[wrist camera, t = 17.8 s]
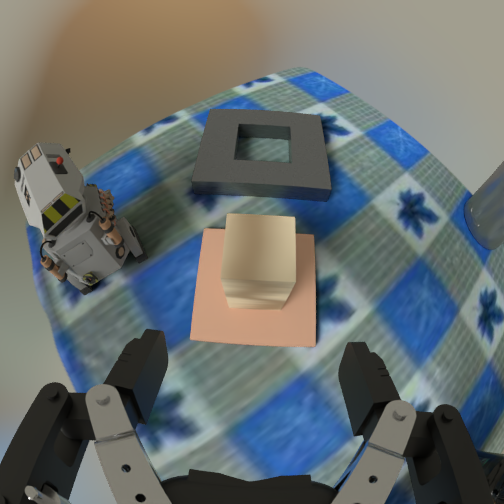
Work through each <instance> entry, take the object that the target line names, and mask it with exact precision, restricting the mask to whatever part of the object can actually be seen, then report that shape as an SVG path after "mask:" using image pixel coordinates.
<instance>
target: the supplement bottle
mask: <svg viewBox="0 0 504 504" xmlns="http://www.w3.org/2000/svg"><path fill="white" fill-rule="evenodd" d="M476 452H477V455H478V457H479V460H480V462H481V465H482V468H483V471H484V473H485V476H486V479H487V482H488V485H489V488H490V491H491V495H492V498H493V501H494V504H504V454H499V453H491V452H485V451H478V450H476Z"/></svg>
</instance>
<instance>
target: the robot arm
mask: <svg viewBox="0 0 504 504" xmlns="http://www.w3.org/2000/svg"><path fill="white" fill-rule="evenodd" d="M464 215H465V219H466V222H467V225H468V227H469V229H470V231H471V233H472V235H473V236H474V238H475V239H476V240H477V241H478V242H479V243H480V244H481V245H482V246H483V247H485V248H486V249H489V250H493V249H496V248H497V247H498V246H500V245H501V244H503V243H504V161H503V162H502V164H501V165H500V166H499V167H498V168H497V169H496V171H495V172H494V173H493V174H492V175H491V176H490V178H489V179H488V180H487V181H486V182H485V183H484V184H483V185H482V186H481V187H480V188H479V189H478V190H477V191H476V193H475V194H474V195H473V196H472V197H471V198H470V199H469V200H468V201H467V202H466V203H465V206H464ZM167 367H168V353H167V347H166V341H165V335H164V332H163V331H158V330H152V329H146V330H145V331H144V333H143V335H142V337H141V338H140V339H137V338H134V339H133V340H132V341H130V342H129V343H128V344H126V346H125V348H124V349H123V351H122V354H120V356H119V358H118V361H116V363H115V365H114V366H113V368H112V370H111V371H110V373H109V375H108V377H107V378H106V380H105V382H104V383H103V384H100V385H96V386H94V387H92V388H91V389H90V390H89V391H88V392H87V393H69V392H68V391H67V389H66V387H65V386H64V385H62V384H61V383H56V382H54V383H50V384H47V385H45V386H44V387H43V388H42V389H41V390H40V392H39V394H38V395H37V397H36V398H35V400H34V402H33V403H32V405H31V407H30V409H29V410H28V412H27V414H26V415H25V417H24V419H23V421H22V422H21V424H20V426H19V428H18V430H17V432H16V433H15V435H14V437H13V439H12V441H11V443H10V445H9V447H8V449H7V451H6V453H5V455H4V457H3V459H2V461H1V464H0V504H71V503H70V502H69V501H68V500H69V497H70V494H71V491H72V488H73V484H74V482H75V479H76V476H77V472H78V470H79V467H80V464H81V462H82V459H83V456H84V453H85V451H86V448H87V445H88V443H89V440H96V442H95V448H96V451H97V454H98V457H99V460H100V463H101V466H102V468H103V471H104V474H105V476H106V479H107V481H108V484H109V486H110V488H111V491H112V493H113V495H114V497H115V500H116V502H117V504H384V503H385V501H386V499H387V497H388V495H389V493H390V491H391V489H392V487H393V485H394V483H395V481H396V479H397V477H398V475H399V472H400V470H401V468H402V465H403V463H404V460H405V457H406V461H407V465H408V469H409V473H410V477H411V482H412V486H413V490H414V495H415V500H416V504H494V501H493V498H492V495H491V491H490V488H489V485H488V482H487V479H486V476H485V473H484V471H483V468H482V465H481V462H480V460H479V457H478V455H477V452H476V450H475V447H474V445H473V442H472V440H471V438H470V435H469V433H468V431H467V429H466V426H465V424H464V422H463V420H462V418H461V415H460V413H459V412H458V410H457V409H456V408H455V407H453V406H451V405H447V404H443V405H440V406H438V407H437V408H436V409H435V410H434V412H433V413H432V412H419V411H415V409H414V407H413V406H412V405H411V404H409V403H408V402H406V401H402V400H401V399H400V396H399V394H398V392H397V390H396V388H395V385H394V383H393V381H392V379H391V377H390V376H389V372H388V370H387V369H386V366H385V364H384V362H383V360H382V359H381V358H380V357H379V356H378V355H377V354H376V353H375V352H371V353H370V351H369V349H368V347H367V345H366V343H365V342H348V343H347V345H346V348H345V351H344V354H343V357H342V360H341V363H340V366H339V372H338V376H339V382H340V385H341V389H342V393H343V396H344V400H345V404H346V407H347V411H348V415H349V419H350V423H351V427H352V431H353V435H354V436H360V435H363V438H364V441H363V442H362V444H361V446H360V447H359V449H358V451H357V452H356V454H355V456H354V457H353V459H352V461H351V462H350V464H349V465H348V467H347V469H346V470H345V472H344V473H343V475H342V476H341V477H340V479H339V480H338V481H337V483H336V484H335V485H334V487H333V488H332V487H330V486H328V485H325V484H322V483H319V482H315V481H311V476H310V475H293V476H278V477H274V478H269V479H264V480H258V481H252V482H249V481H244V480H241V479H237V478H234V477H230V476H227V475H224V474H221V473H215V472H206V471H199V470H193V469H190V470H189V475H184V476H177V477H173V478H169V479H167V480H164V481H161V479H160V477H159V475H158V474H157V472H156V470H155V469H154V467H153V465H152V463H151V461H150V459H149V457H148V455H147V453H146V451H145V449H144V447H143V445H142V443H141V441H140V439H139V437H138V435H137V432H136V430H135V429H136V426H137V424H138V423H141V424H145V425H146V424H147V422H148V419H149V416H150V413H151V411H152V408H153V405H154V402H155V400H156V397H157V394H158V392H159V389H160V386H161V384H162V381H163V378H164V376H165V373H166V371H167ZM437 452H438V453H437ZM438 455H439V456H438Z"/></svg>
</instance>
